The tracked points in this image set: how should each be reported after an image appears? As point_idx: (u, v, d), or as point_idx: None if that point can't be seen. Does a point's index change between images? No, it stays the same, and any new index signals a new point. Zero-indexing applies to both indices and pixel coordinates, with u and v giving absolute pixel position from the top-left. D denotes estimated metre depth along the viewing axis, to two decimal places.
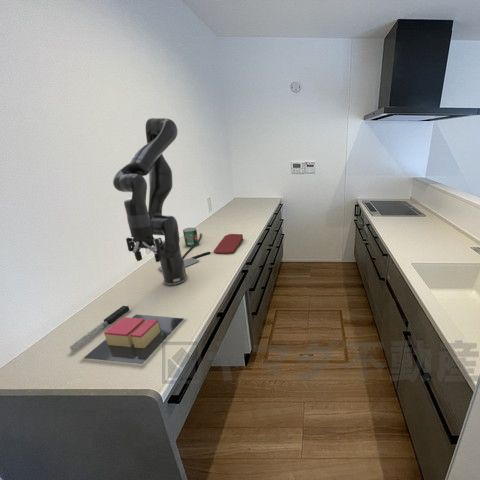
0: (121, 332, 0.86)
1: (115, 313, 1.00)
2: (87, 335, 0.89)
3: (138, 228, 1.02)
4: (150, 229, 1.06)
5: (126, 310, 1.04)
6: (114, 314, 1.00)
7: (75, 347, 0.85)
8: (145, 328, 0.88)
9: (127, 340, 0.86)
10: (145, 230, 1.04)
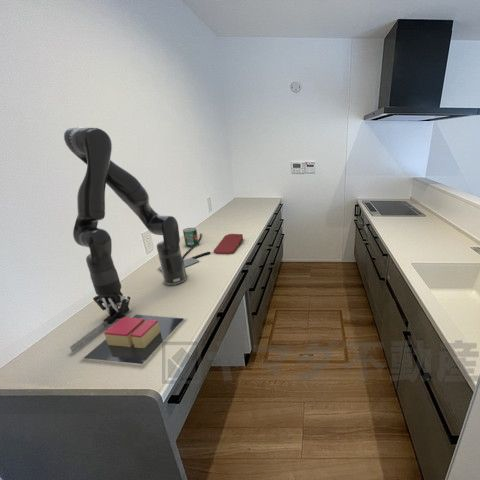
0: (121, 332, 0.86)
1: (115, 313, 1.00)
2: (87, 335, 0.89)
3: (102, 286, 0.92)
4: (117, 284, 0.96)
5: (126, 310, 1.04)
6: (114, 314, 1.00)
7: (75, 347, 0.85)
8: (145, 328, 0.88)
9: (127, 340, 0.86)
10: (111, 287, 0.94)
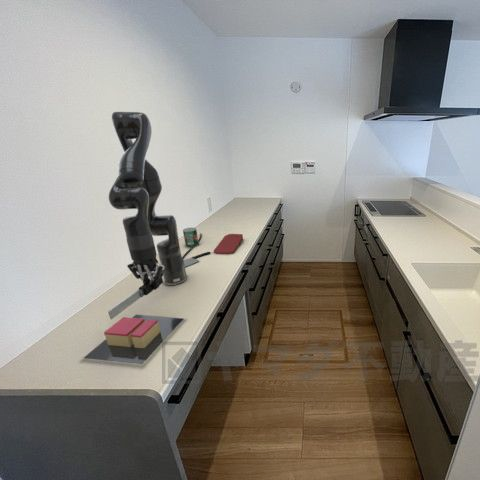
0: (121, 332, 0.86)
1: (149, 282, 0.95)
2: (124, 301, 0.85)
3: (139, 250, 0.88)
4: (153, 251, 0.91)
5: (160, 280, 0.99)
6: (149, 283, 0.95)
7: (113, 312, 0.81)
8: (145, 328, 0.88)
9: (127, 340, 0.86)
10: (147, 252, 0.89)
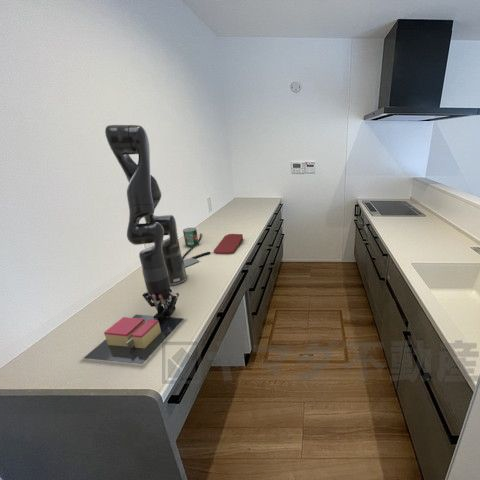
0: (121, 332, 0.86)
1: (163, 310, 1.00)
2: None
3: (154, 282, 0.92)
4: (167, 281, 0.96)
5: (172, 307, 1.03)
6: (162, 311, 0.99)
7: (131, 343, 0.85)
8: (146, 328, 0.88)
9: (127, 340, 0.86)
10: (162, 283, 0.94)
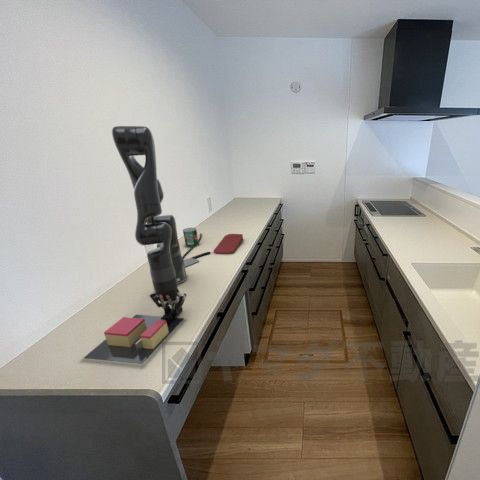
0: (121, 332, 0.86)
1: (170, 311, 1.00)
2: None
3: (162, 282, 0.92)
4: (175, 281, 0.95)
5: (180, 308, 1.03)
6: (170, 312, 0.99)
7: (139, 344, 0.85)
8: (154, 329, 0.87)
9: (127, 340, 0.86)
10: (170, 284, 0.93)
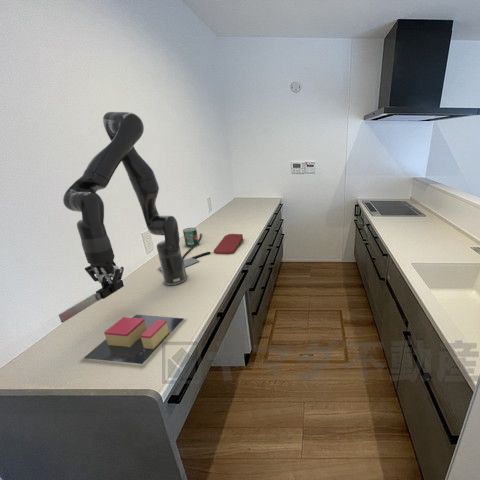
0: (121, 332, 0.86)
1: (108, 286, 0.96)
2: (78, 305, 0.85)
3: (94, 253, 0.88)
4: (110, 253, 0.92)
5: (120, 284, 0.99)
6: (107, 286, 0.95)
7: (64, 316, 0.81)
8: (154, 329, 0.87)
9: (127, 340, 0.86)
10: (103, 255, 0.90)
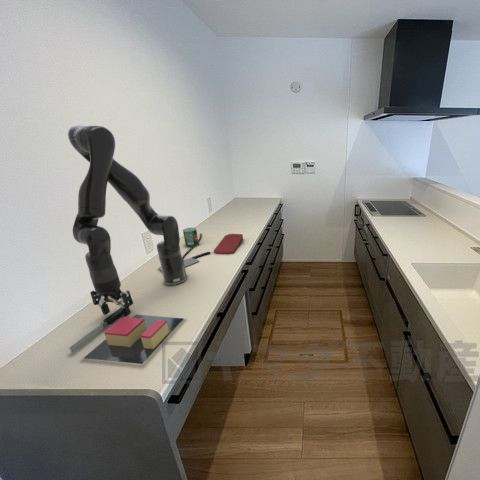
0: (121, 332, 0.86)
1: (115, 313, 1.00)
2: (87, 336, 0.89)
3: (102, 283, 0.92)
4: (116, 282, 0.96)
5: None
6: (114, 314, 0.99)
7: (75, 348, 0.85)
8: (154, 329, 0.87)
9: (127, 340, 0.86)
10: (110, 285, 0.94)
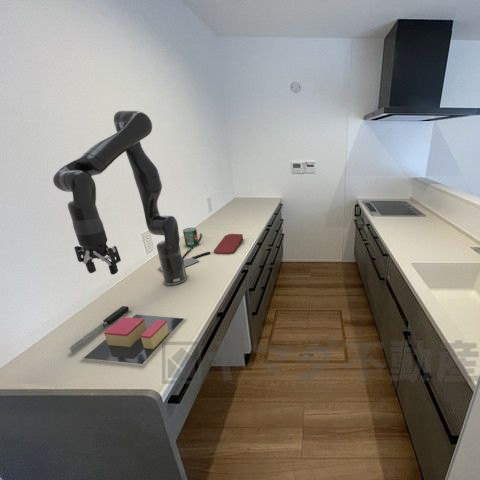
0: (121, 332, 0.86)
1: (115, 313, 1.00)
2: (87, 336, 0.89)
3: (86, 235, 0.86)
4: (102, 236, 0.89)
5: (126, 310, 1.04)
6: (114, 314, 0.99)
7: (75, 348, 0.85)
8: (154, 329, 0.87)
9: (127, 340, 0.86)
10: (95, 237, 0.87)
